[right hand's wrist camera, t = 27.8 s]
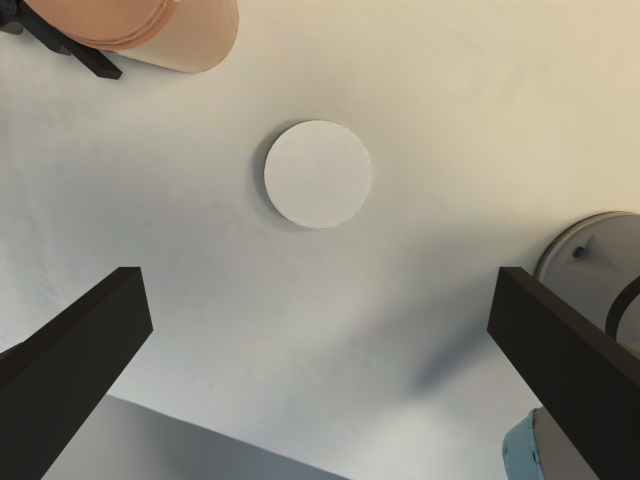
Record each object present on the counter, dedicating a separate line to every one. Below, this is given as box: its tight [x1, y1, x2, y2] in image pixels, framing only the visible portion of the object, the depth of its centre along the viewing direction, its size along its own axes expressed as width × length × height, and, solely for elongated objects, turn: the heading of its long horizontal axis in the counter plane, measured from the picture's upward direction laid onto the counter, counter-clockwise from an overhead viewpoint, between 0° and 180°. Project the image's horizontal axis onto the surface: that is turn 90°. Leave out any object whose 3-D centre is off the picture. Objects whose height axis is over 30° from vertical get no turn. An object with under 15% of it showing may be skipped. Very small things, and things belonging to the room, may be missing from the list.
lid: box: [264, 120, 372, 229], centre depth 36 cm, size 11×11×2 cm
